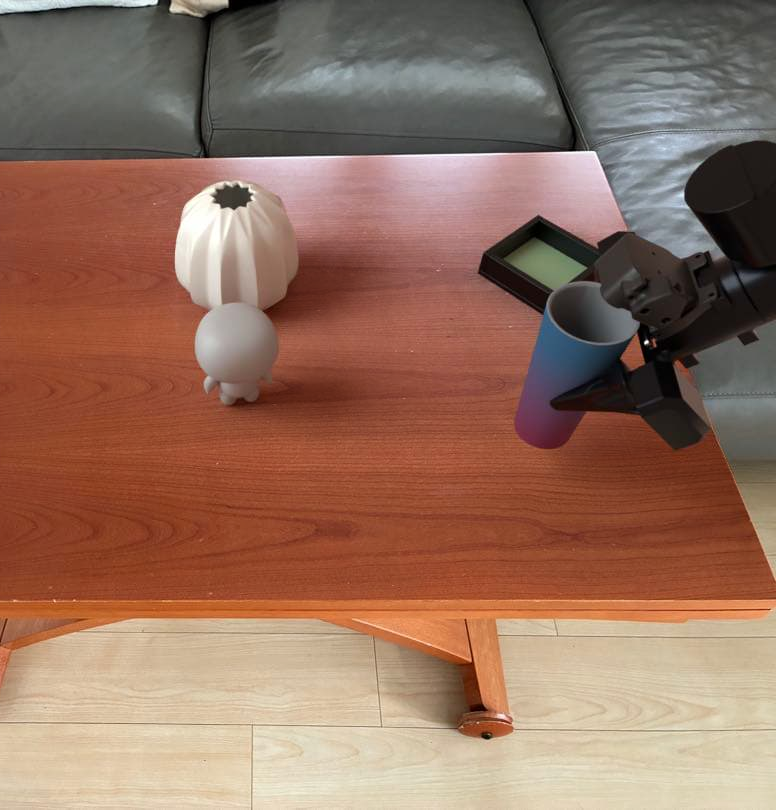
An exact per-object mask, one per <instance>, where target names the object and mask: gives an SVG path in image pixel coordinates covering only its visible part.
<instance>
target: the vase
mask: <svg viewBox="0 0 776 810" xmlns="http://www.w3.org/2000/svg"><path fill="white" fill-rule="evenodd" d="M179 224H180V225H179V228H178V230H177V236H176V241H175V251H174V268H175V275H176V278H177V281H178V283H179V284H180V285H181V286H182V287H183V288H184V289H185V290H186V291H187V292H188V293H189V295H190V298H191V301H192V303H193V304H195V305H197V306H199V307H201V308H203V309H204V310H207V311H208V312H209V311H211V310H212V309H214V308H216V307H218V306H220V305H224V304H228V303H247V304H251V305H253V306H255V307H257V308H259V309H260V310H261V311H263V312H264V311H266V310H267V309H269V308H271V307H272V306H274V305H275V304H277V303H278V302H280V301H281V300H283V299H284V298H286V296H287V290H288V286H289V285H290V284H291V282H292V281H293V280H294V279H295V277H296V276H297V273H298V268H299V257H300V256H299V250H298V243H297V239H296V233H295V230H294V226H293V224H292V221H291V220H290V218H289V216H288V213H287V209H286V206H285V204H284V202H283V200H282V198H281V197H280V196H279V195H277V194H275V193H273V192H272V191H271V190H268V189H266V188H264V187H263V186H262V185H260V184H258V183H256V182H252V181H249V180H240V179H234V180H224V181H219V182H215V183H213V184H211V185H209V186H206V187H204V189H202V190H201V191H200V193H197V195H195V196H193V197H192V198H191V199H189V200H188V201H187V202H186V203H185V205H184V207H183V209H182V212H181V217H180V223H179Z"/></svg>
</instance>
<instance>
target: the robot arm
mask: <svg viewBox="0 0 776 810" xmlns="http://www.w3.org/2000/svg"><path fill="white" fill-rule="evenodd" d="M683 192H684V193H683V199H684V202H685V204H686V206H688V208H689V209H690V211H691V212H692V213H693V215H694V216H695V217H696V219H697V220H698V221H699V223H700V224H701V225H702V227H703V228H704V229H705V231H706V232H707V234H708V235H709V236H710V237H711V239H712V241H714V243H715V244H716V246H717V247H718V248H719V250H720V252H722V254H723V256H721V257H719V258H715V256H714V255H713V254H712V253H711V251H710V250H709V249H708V250H706V251H704V252H703V251H698V252H695V253H693V254H691V255H689V256H687V257H682V258H680V257H678V256H677V255H675V254H673V252H671V251H670V250H669V249H666V248H665V247H663V246H661V245H658V244H656V243H654V242H652V241H650V240H648V239H645V238H644V237H642V236H640V235H638V234H637V232H636V231H628V230H627V231H626V230H618V231H615V232H614V233H611V234H610V235H608V236H606V237H605V238H603V239H601V240H599V241H597V242H596V245H597V248H598V250H599V254H600V258H599V259H598V260H597V261H596V262H595V263H594V266H595V272H594V274H595V279H594V282H597V283H601V287H600V293H601V296H602V297H603V299H604V300H605V301H606V302H607V303H608V304H609V305H611V306H613V307H615V308H617V309H621V308H623V309H625V310H627V311H630V312H631V315H632V318H633V319H634V320H636V321H638V322H640V327H639V329H638V331H637V333H636V334H637V337H638V341H639V345H640V349H641V354H642V357H643V362H644V364H642V365H640V366H638V367H637V368H633V369H631V368H630V366H628V365H627V364H626V362H624V360H623V359H621V358H619V357H617V358H616V359H615V361H614V363H613V364H612V366H611V368H610V369H609V371H608V372H607V373H606V374H605V375H603V376H600V377H598V378H596V379H594V380H591V381H589V382H587V383H585V384H582V385H580V386H578V387H576V388H573V389H571V390H569V391H567V392H564V393H562V394H561V395H559V396H557V397H555V398H554V399H552V400H550V406H551V407H552V408H553V409H554V410H557V411H587V412H592V413H616V414H625V415H631V416H632V415H633V416H640V418H641V419H642V420H643V421H644V422H645V423H646V424H647V425H648V426H649V428H651V429H652V430H653V431H654V432H655V433H656V434H657V435H658V436H659V437H660V438H661V439H662V440H663V441H664V442H665V443H666V444H667V445H668V446H669V447H671V449H672V450H673V451H674V452H677V451H679V450H681V449H685V448H687V447H690V446H694V445H697V444H699V443H701V442H702V441H703V440H704V439H705V437H706V436H707V434H709V432H710V431H711V424H710V423H709V418H708V415H707V412H706V408H705V405H704V402H703V398H702V395H701V393H700V391H699V390H698V389H697V388H696V387H695V386H694V384H693V383H692V382H691V381H690V380H689V379H688V378H687V377H686V375H685V374H684V373H683V372H682V371H681V370H680V369H679V368H678V367H677V366H676V362H677V361H678V362H679V363H680V364H681V365H682V366H683V367H684V368H685V370H688V369H690V368H693V367H695V366H697V365H700V364H701V363H700V359H699V357H698V353H700V352H703V351H704V350H708V349H710V348H713V347H716V346H718V345H720V344H722V343H725V342H727V341H730V340H732V339H735V338H738V340H739V341H740V342H741V344H742V345H743V346H744V347H746V346H748V345H750V344H753V343H756V342H758V341H760V337H759V335H758V333H757V330H756V329H760V328H761V327H762V328H763V327H764V326H766V325H769V324H771V323H773V322H776V142H773V141H769V140H766V139H765V140H762V139H761V140H759V139H758V140H757V139H756V140H750V141H744V142H741V143H739V144H736V145H733V144H729V145H727V146H725V147H723V148H721V149H719V150H718V151H716V152H715V153H713V154H711V155H710V156H708V157H707V158H706V159H705V160H704V161H702V163H700V164H699V165H698V166H697V167H696V169H695V170H694V171H693V172H692V173H691V175H690V176H689V178H688V180H687V181H686V184H685V186H684V190H683ZM653 340H654V341H653ZM654 343H655V345H654Z"/></svg>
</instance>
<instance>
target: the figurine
mask: <svg viewBox="0 0 776 810" xmlns="http://www.w3.org/2000/svg"><path fill="white" fill-rule="evenodd" d="M195 332H196V333H195V338H194V353H195V358H196V361H197V363H198V365H199V367H200V369H202V371H203V372H204V373H205V375H207V376H206V377H205V379H204V381H203V389H204V391H205V392H206V395H209V394H210V393H211V392H213V391H214V390H215V389H216V388H217V385H218V388H219V391H218V395H219V396H218V397H219V399H220V401H221V403H223V405H225V406H231V405H233V404H235V402H237V401H236V400H237V399H241V398H243V399H244V400H245V401H246V402H249V403H250V402H251V403H252V402H255V401H256V400H257V399H258V398H259V394H260V387H259V383H260V378H261V380H262V381H263V382H264V383H267V384H269V385H272V384H273V380H274V373H273V370H272V368H273V367H274V365H275V364H276V361H277V360H278V356H279V350H280V341H279V335H278V333H277V329H276V326H274V323H273V322H272V320H271V319H270V317H269V316H268V315H267V314H266V313H265V312H264V310H263V311H261V310H260V309H259V308H257V307H255V306H253V305H251V304H247V303H228V304H224V305H220V306H218V307H216V308H214V309H212V310H211V311H209V310H208V312H207V313H206V314H205V315H204V316H203V317H202V319H201V320H200V322H199V324H198V327H197V330H196V331H195Z"/></svg>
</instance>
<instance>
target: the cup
mask: <svg viewBox="0 0 776 810" xmlns="http://www.w3.org/2000/svg"><path fill="white" fill-rule="evenodd" d="M600 287H601V283H597V282H589V281H578V282H571V283H568V284H565V285H562V286H560V287H558V288H557V289H556V290H554V291H553V292H552V293H551V295H550V296H549V298H548V301H547V304H546V307H545V311H544V315H542V319H541V322H540V326H539V330H538V333H537V337H536V339H535V344H534V347H533V351H532V354H531V358H530V361H529V365H528V369H527V372H526V377H525V380H524V384H523V387H522V391H521V395H520V398H519V402H518V405H517V409H516V412H515V416H514V420H513V426H514V429H515V432H516V434H517V435H518V437H519V438H520V439H521V440H522V441H523V442H525V443H526V444H527V445H530V446H531V447H534V448H537V449H541V450H556V449H559V448H561V447H562V446H565V445H566V444H567V443H568V442H569V441H570V438H571V437H572V436H573V434H574V432H575V431H576V429H577V428H578V427H579V424H580V423H581V422H582V419H583V418H584V416H585V415H586V413H587V412H588V411H557V410H554V409H553V408H552V407H551V406H550V400H552V399H554V398H555V397H557V396H559V395H561V394H562V393H564V392H567V391H569V390H571V389H573V388H576V387H578V386H580V385H582V384H585V383H587V382H589V381H591V380H594V379H596V378H598V377H600V376H603V375H605V374H606V373H607V372H608V371H609V369H610V368H611V366H612V364H613V363H614V361H615V359H616V358H617V357H619V358H620V359H621V358H622V356H623V355H624V353H625V352H626V350H627V348H628V347H629V345H630V344H631V342H632V340H633V339H634V338H635V336H636V334H637V331H638V329H639V327H640V322H638V321H636V320H634V319H633V318H632V315H631V312H630V311H627V310H625V309H623V308H621V309H617V308H615V307H613V306H611V305H609V304H608V303H607V302H606V301H605V300H604V299H603V297H602V296H601V293H600Z"/></svg>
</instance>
